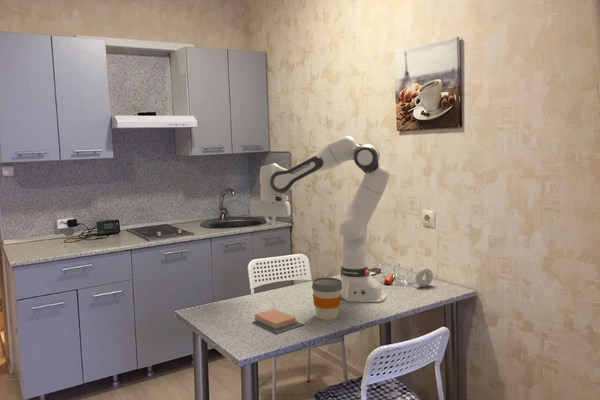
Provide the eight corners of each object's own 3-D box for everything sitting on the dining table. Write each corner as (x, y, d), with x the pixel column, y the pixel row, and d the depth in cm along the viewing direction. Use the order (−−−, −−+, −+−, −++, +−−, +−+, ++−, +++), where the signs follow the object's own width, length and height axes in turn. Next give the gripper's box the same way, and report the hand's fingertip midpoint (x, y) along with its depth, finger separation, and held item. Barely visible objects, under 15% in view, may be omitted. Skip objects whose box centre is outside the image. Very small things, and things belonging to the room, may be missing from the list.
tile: (254, 314, 205) (275, 323, 195) (274, 308, 212) (295, 317, 201) (255, 320, 206) (275, 329, 195) (274, 314, 212) (295, 323, 202)
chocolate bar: (388, 270, 280) (367, 276, 268) (388, 272, 280) (367, 278, 268) (375, 267, 286) (354, 273, 274) (375, 269, 286) (354, 275, 274)
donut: (418, 288, 247) (418, 269, 246) (413, 287, 250) (414, 267, 249) (434, 286, 251) (434, 266, 250) (429, 284, 254) (429, 265, 253)
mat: (252, 322, 204) (252, 321, 204) (279, 314, 213) (279, 313, 213) (276, 334, 192) (276, 333, 192) (304, 325, 201) (304, 324, 201)
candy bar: (390, 286, 253) (390, 280, 253) (383, 285, 254) (383, 279, 254) (395, 277, 268) (395, 272, 268) (389, 277, 269) (389, 271, 269)
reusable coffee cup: (318, 309, 219) (318, 276, 217) (345, 312, 214) (345, 278, 212) (307, 319, 207) (307, 283, 206) (336, 323, 203) (336, 287, 201)
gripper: (247, 197, 241) (248, 225, 243) (286, 198, 234) (287, 227, 236) (252, 195, 247) (253, 223, 248) (291, 196, 240) (292, 224, 242)
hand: (270, 225), depth 242 cm, fingers closed
